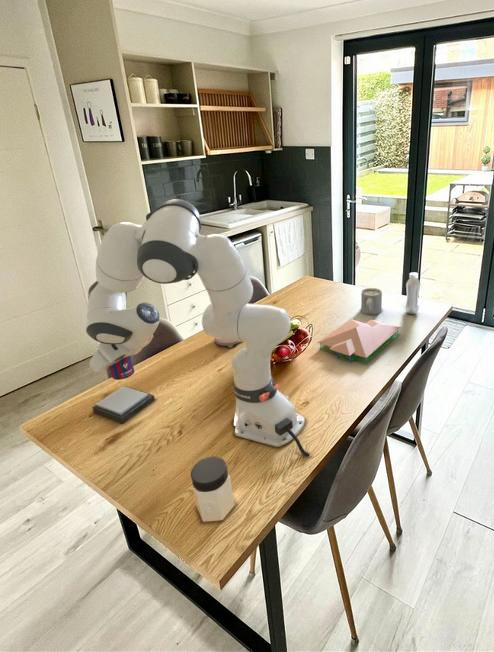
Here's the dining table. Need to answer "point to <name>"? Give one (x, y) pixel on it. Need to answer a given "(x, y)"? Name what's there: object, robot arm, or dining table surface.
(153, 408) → the dining table surface
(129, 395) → the scale
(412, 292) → the plastic bottle
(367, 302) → the coffee mug
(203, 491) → the jar
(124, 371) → the cup
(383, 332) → the house
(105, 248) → the robot arm
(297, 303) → the dining table surface
